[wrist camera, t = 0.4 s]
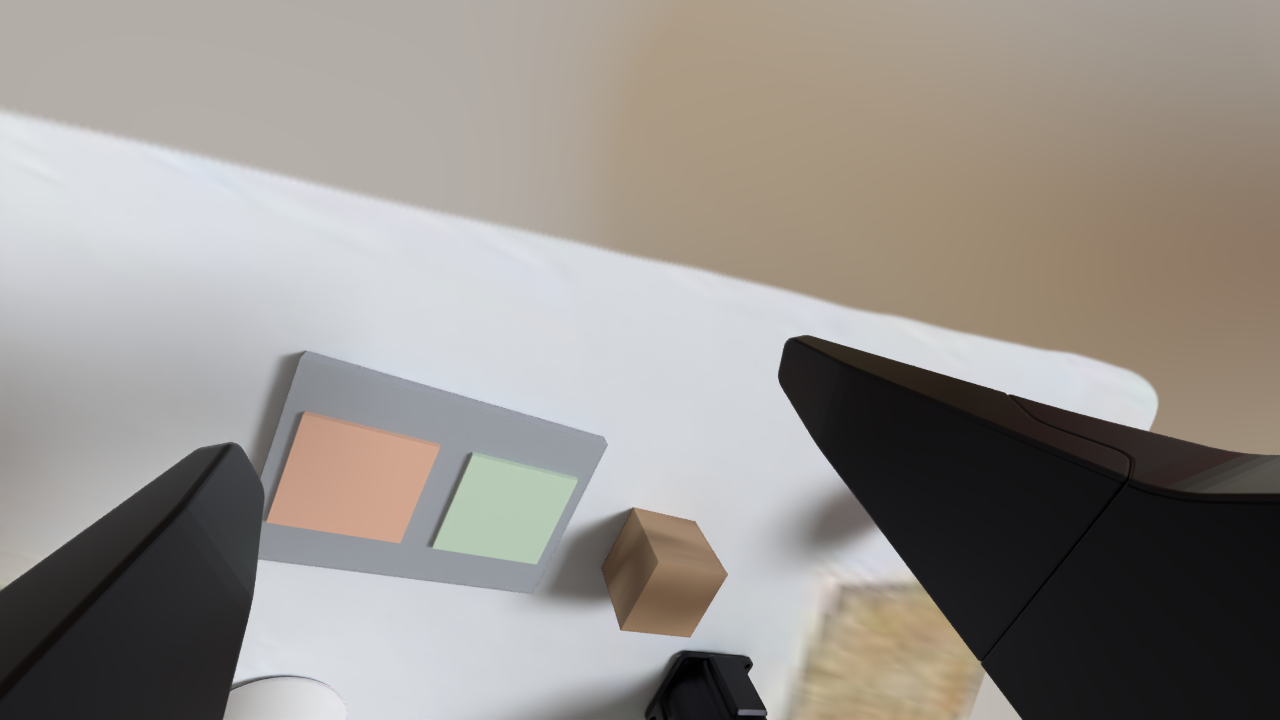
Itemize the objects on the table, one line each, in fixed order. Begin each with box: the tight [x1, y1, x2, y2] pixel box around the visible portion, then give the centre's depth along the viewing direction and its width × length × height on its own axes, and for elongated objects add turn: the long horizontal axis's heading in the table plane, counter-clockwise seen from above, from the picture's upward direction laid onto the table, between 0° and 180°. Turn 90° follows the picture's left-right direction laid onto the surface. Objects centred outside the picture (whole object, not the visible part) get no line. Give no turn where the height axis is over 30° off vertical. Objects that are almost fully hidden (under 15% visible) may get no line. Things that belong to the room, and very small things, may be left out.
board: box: [258, 351, 608, 594], centre depth 24 cm, size 10×14×1 cm
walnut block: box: [601, 507, 728, 637], centre depth 28 cm, size 4×4×4 cm
